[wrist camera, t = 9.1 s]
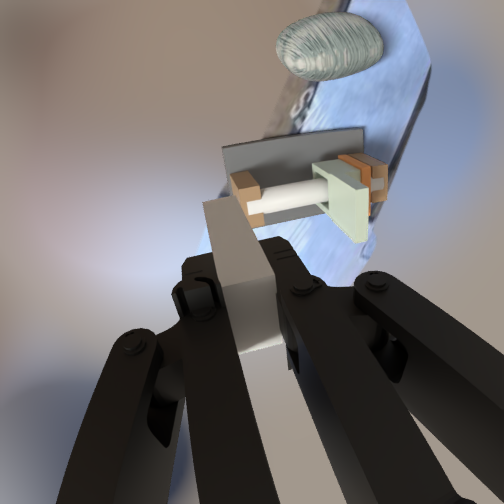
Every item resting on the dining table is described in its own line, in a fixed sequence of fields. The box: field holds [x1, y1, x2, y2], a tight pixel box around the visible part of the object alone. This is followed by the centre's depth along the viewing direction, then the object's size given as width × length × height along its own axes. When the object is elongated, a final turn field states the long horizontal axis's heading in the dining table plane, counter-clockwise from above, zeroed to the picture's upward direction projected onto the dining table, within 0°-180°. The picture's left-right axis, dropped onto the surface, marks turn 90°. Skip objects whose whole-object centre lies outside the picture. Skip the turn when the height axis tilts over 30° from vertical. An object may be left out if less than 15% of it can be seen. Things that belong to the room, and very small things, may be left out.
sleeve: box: [312, 159, 369, 244], centre depth 36 cm, size 6×4×12 cm, turn 8°
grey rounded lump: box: [276, 12, 384, 81], centre depth 33 cm, size 14×10×10 cm
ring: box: [338, 154, 371, 216], centre depth 39 cm, size 6×1×6 cm, turn 8°
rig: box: [222, 128, 388, 229], centre depth 41 cm, size 12×20×9 cm, turn 98°
